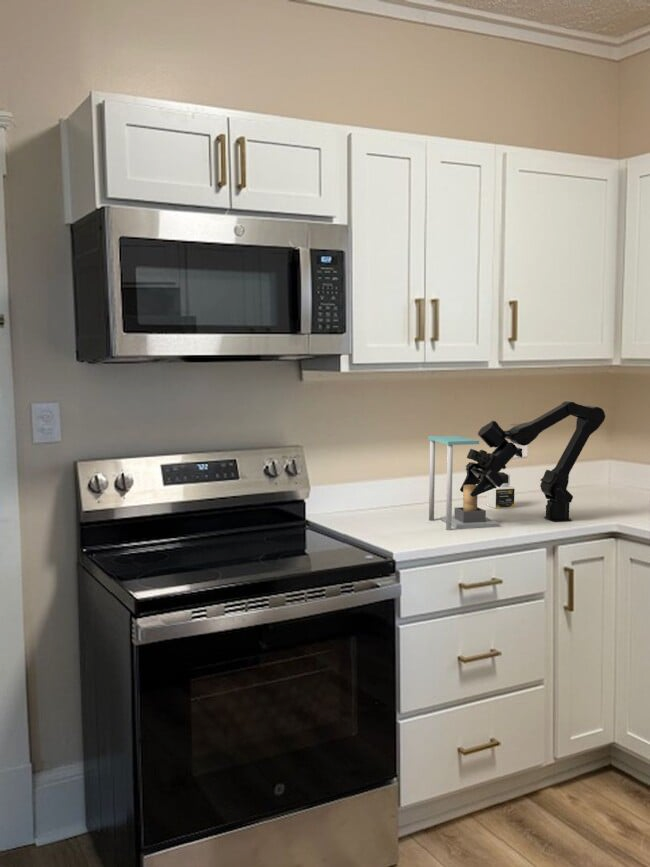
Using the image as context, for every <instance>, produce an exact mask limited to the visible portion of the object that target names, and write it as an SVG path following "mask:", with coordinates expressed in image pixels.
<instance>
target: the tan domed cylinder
mask: <svg viewBox="0 0 650 867" xmlns="http://www.w3.org/2000/svg"><path fill="white" fill-rule="evenodd" d="M476 486H477V484H476V485H463V492H462V495H463V496H462V507H463V511H477V507H478V495H476V496H474V497H472V496H471V495H470V494H471V493H472V491H473V490H474V488H475V487H476Z"/></svg>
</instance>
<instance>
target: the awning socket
mask: <svg viewBox="0 0 650 867" xmlns="http://www.w3.org/2000/svg"><path fill="white" fill-rule="evenodd" d="M427 439H428V441H429V480H428V481H429V482H428V483H429V486H428V487H429V488H428V490H429V491H428V492H429V494H428V521H431V522H432V521H435V480H436V479H435V478H436V477H435V474H436V473H435V471H436V470H435V468H436V466H435V464H436V461H435V460H436V442H437V443H441V444H444V445H446V454H447V455H446V457H447V459H446V460H447V461H446V505H445V506H446V513H445V514H446V515H445V516H440V521H441V522H444V523H445V524H446V525H445V526H446V527H445V530H446V531H451V530H452V527H453V528H455V529H477V528H479V529H480V528H499V527H500V526H501V524H500V522H498V521H495V520H493V519H491V518H488V517H487V516H486V515H487V514H486V513H487V512H486V511H487V510H485V509H483V508H480V507H478V506H477V511H463V506H461V507H454V511H453V512H454V516H453V514H452V510H453V454H454V452H453V451H454V450H453V446H454V445H455V446H456V445H457V446H460V445H479V444H480V440H478V439H473V438H469V437H464V436H461V435H433V436H431V435H429V436H428V438H427Z"/></svg>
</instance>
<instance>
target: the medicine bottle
mask: <svg viewBox="0 0 650 867" xmlns="http://www.w3.org/2000/svg"><path fill="white" fill-rule="evenodd" d="M498 474H499V475H500V476H501V477H502V478H503V479H504V480H503V484H502V485H501V486H500V487H497V486H496V487H497V488H494V489H491V490H489V491H486V505H487V506H488V507H491V508H493V509H498V510H499V509H514V508H515V490H516V489H515V487H512V486H511V485H510V484H511V483H510V482H511V475H510V473H508V472H503V471H499V472H498Z"/></svg>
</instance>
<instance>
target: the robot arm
mask: <svg viewBox="0 0 650 867" xmlns="http://www.w3.org/2000/svg"><path fill="white" fill-rule="evenodd" d="M569 416H573V417H575V418H576V426H575V429H574V430H575V431H574V432H573V434H572V436H571V438H570V440H569V441H568V443H567V445H566V446H565V449H564V451H563V452H562V454H561V457H560V458H559V460H558V462H557V464H556V466H555V467H554V468H553V469H551V470H549V469H546V470H545V472H544V475H543V476H542V478H540V479H539V480H540V481H541V483H540V485H539V486H540V487H539V488H540V490H541V492H542V493H543V494H544V496H545V499H546V500H547V502H546V505H545V516H544V519H546V520H549V521H552V522H567V521H568V522H571V521H573V519H572V518H570V503H572V501H573V498H574V496H573V495H572V493H570V491H569V490H567V488H568V487H569V486H568V485H569V479H570V472H572V471H571V470H572V469H573V468H574V465H575V463H576V462H577V460H578V458H579V456H580V454H581V453H582V451H583V449H584V447H585V445H586V443H587V441H588V440H589V438H590V436H591V435H592V434H593V433H595V432H596V431H597V430H598V429H599V428H600V427H601V426H602V425H603V423H604V422H605V419H606V414H605V411H604V409H603V408H601V407H599V406H593V405H592V406H591V405H582V404H579V403H576V402H574V401H569V400H568V401H564V402H562V403H561V404H559V405H557V406H556V407H554V408H553V409H551V410H549V411H547V412H545V413H543V414H542V415H540V416H539V417H537V418H535V419H533V420H531V421H527V422H523V423H520V424H517V425H515V426H512V427H511V428H510V429H508V430H503V429H502V427H501V426H500V425H499V424H498V422H497V420H491V421H490V422H489V423H486V425H484V426H482V427H480V429H479V430H478V432H477V436H479V437H480V439H481V440H482V441H483V442H485V444H486V445H487V446H488V447H489V448H494V450H492V452H491V453H490V452H488V451H486V450H484V449H480V450H476V449H473V448H470V449H469V451H468V453H467V455H466V459H469V460H472V461H470V462H468V463H467V464H466V465H465V471H466V476H465V479H464V481H463V483H462V485H461V487H460V489H459V491H460V492H461V493H463V485H477V486H476V487H475V488H474V490H473V491H472V493H471V494H470V495H471V496H472V497H474V496H476V495H477V496H479V495H480V494H483V493H487V491H489V490H491V489H494V488H497V487H500V486H501V485H502V484H503V480H504V479H503V478H502V477H501V476H500V475H499V474H498V472H501V470H506V468H507V466H506V465H507V464H508V463H509V462H510V461H511V459H513V458H514V457H515V456H516V457H518V458H523V449H522V448H521V447H517V446H516V445H518V446H523V447H524V446H525V447H526V446H528V445H530V444H531V443H532V442H533V441H534V440H536V439H537V437H538V436H539V435H540V434H541V433H542V432H544V431H545V430H547V429H549V428H550V427H553V426H554V425H556V424H557V423H559V422H560V421H563V420H564V419H567V418H568V417H569ZM508 440H510V442H509V441H508ZM496 486H497V487H496Z"/></svg>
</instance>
